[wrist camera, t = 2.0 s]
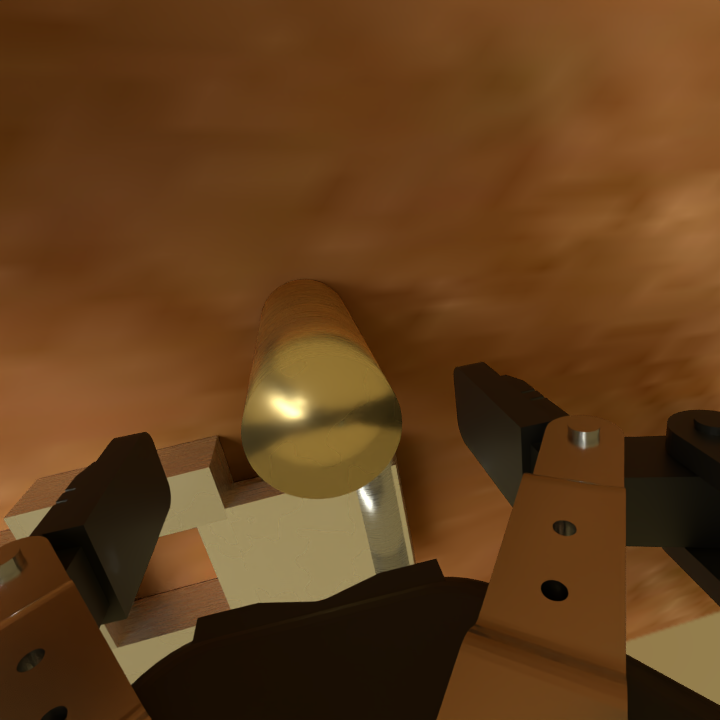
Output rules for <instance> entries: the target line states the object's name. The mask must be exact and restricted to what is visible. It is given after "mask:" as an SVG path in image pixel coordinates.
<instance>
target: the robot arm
mask: <svg viewBox="0 0 720 720" xmlns="http://www.w3.org/2000/svg"><path fill="white" fill-rule="evenodd" d="M454 387H455V398H456V408H457V419H458V425H459V430H460V433H461V436H462V438H463V440H464V442H465V444H466V445H467V446H468V448H469V449H470V450H471V452H472V453H473V454H474V456H475V457H476V458H477V460H478V461H479V463H480V464H481V465H482V467H483V468H484V469H485V471H486V472H487V473H488V475H489V476H490V477H491V479H492V480H493V481H494V483H495V484H496V485H497V487H498V488H499V490H500V491H501V492H502V494H503V495H504V496H505V498H506V499H507V500H508V502H509V503H510V504H511V506H512V507H513V509H512V512H511V515H510V518H509V521H508V525H507V528H506V531H505V534H504V537H503V541H502V544H501V547H500V550H499V553H498V557H497V560H496V563H495V566H494V569H493V573H492V576H491V579H490V582H489V583H487V582H483V581H479V580H474V579H469V578H460V577H444V576H443V574H442V571H441V569H440V566H439V564H438V562H437V559H433V560H429V561H425V562H421V563H417V564H413V565H409V566H405V567H401V568H397V569H393V570H389V571H385V572H381V573H378V574H376V575H374V576H372V577H370V578H368V579H366V580H364V581H362V582H360V583H357V584H355V585H353V586H351V587H349V588H347V589H345V590H343V591H341V592H339V593H337V594H335V595H333V596H331V597H329V598H326V599H324V600H320V601H310V602H269V603H255V604H251V605H247V606H243V607H239V608H235V609H231V610H227V611H223V612H219V613H215V614H211V615H207V616H203V617H199V618H197V623H196V627H195V632H194V636H193V641H191V642H189V643H187V644H185V645H183V646H181V647H180V648H178V649H176V650H175V651H173V652H171V653H170V654H168V655H167V656H165V657H164V658H163V659H161V660H160V661H158V662H157V663H155V664H154V665H153V666H152V667H151V668H149V669H148V670H147V671H146V672H145V673H143V674H142V675H141V676H140V677H139V678H138V679H137V680H136V681H135V682H134V683H132V684H130V682H129V680H128V679H127V677H126V675H125V673H124V671H123V670H122V668H121V666H120V664H119V663H118V661H117V659H116V657H115V655H114V654H113V652H112V650H111V648H110V647H109V645H108V643H107V641H106V639H105V638H104V636H103V634H102V632H101V630H100V629H99V628H100V626H101V625H103V624H108V623H112V622H116V621H120V620H124V619H127V618H128V615H129V612H130V610H131V607H132V605H133V602H134V600H135V597H136V594H137V592H138V589H139V587H140V584H141V582H142V579H143V576H144V574H145V571H146V569H147V566H148V563H149V561H150V558H151V556H152V553H153V551H154V548H155V545H156V543H157V540H158V538H159V535H160V532H161V530H162V527H163V525H164V522H165V520H166V517H167V514H168V512H169V509H170V505H171V492H170V486H169V483H168V480H167V477H166V475H165V472H164V469H163V467H162V464H161V461H160V458H159V456H158V453H157V450H156V448H155V445H154V442H153V440H152V438H151V436H150V435H149V434H148V433H147V432H142V433H137V434H133V435H128V436H123V437H118V438H114V439H113V440H112V441H111V442H110V443H109V445H108V446H107V447H106V449H105V450H104V451H103V453H102V454H101V455H100V457H99V458H98V460H97V461H96V462H94V463H92V464H91V465H90V466H88V467H87V468H86V469H84V470H83V471H82V472H80V473H79V474H78V475H77V476H76V477H75V478H74V479H73V480H72V482H71V483H70V484H69V486H68V487H67V488H66V489H65V493H62V495H61V496H60V497H59V498H58V500H57V501H56V505H53V506H52V507H51V509H50V510H49V511H48V513H47V514H46V515H45V516H44V518H43V519H42V520H41V522H40V523H39V524H38V525H37V527H36V528H35V529H34V530H33V532H32V533H31V534H30V536H29V537H25V538H21V539H18V540H15V541H12V542H10V543H7V544H5V545H3V546H1V547H0V720H720V705H718V704H716V703H715V702H713V701H711V700H709V699H707V698H705V697H704V696H702V695H700V694H698V693H696V692H694V691H693V690H691V689H689V688H687V687H685V686H684V685H681V684H680V683H678V682H676V681H674V680H673V679H671V678H669V677H667V676H665V675H663V674H662V673H659V672H658V671H656V670H654V669H652V668H651V667H649V666H647V665H645V664H643V663H641V662H640V661H638V660H636V659H634V658H632V657H631V656H629V655H627V654H626V546H643V547H662V548H663V549H664V551H665V552H666V553H667V554H668V555H669V556H670V557H671V558H672V559H673V560H674V561H675V562H676V563H677V564H678V565H679V566H680V567H681V568H682V569H683V570H684V571H685V572H686V573H687V574H688V575H689V576H690V577H691V578H692V579H693V580H694V581H695V582H696V583H697V584H698V585H699V586H700V587H701V588H702V589H703V590H704V591H705V592H706V593H707V594H708V595H709V596H710V597H711V598H712V599H713V600H714V601H715V602H716V603H717V604H718V605H719V606H720V412H718V411H710V410H688V411H682V412H678V413H676V414H674V415H672V416H670V418H669V419H668V421H667V431H666V436H646V437H624V433H623V431H622V430H621V429H620V427H618V426H617V425H616V424H614V423H612V422H610V421H608V420H605V419H602V418H599V417H594V416H587V415H571V416H570V415H568V414H567V413H566V412H564V411H563V410H562V409H560V408H559V407H558V406H556V405H555V404H554V403H552V402H551V401H550V400H548V399H547V398H544V396H543V395H542V394H540V393H539V392H538V391H535V390H534V388H532V387H531V386H530V385H528V384H527V383H526V382H524V381H523V380H520V379H517V378H514V377H511V376H508V375H503V376H500V375H499V374H498V373H496V372H495V371H494V370H493V369H492V368H490V367H489V366H488V365H487V364H485V363H484V362H479V363H474V364H470V365H465V366H460V367H456V368H455V369H454Z"/></svg>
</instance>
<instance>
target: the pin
mask: <svg viewBox="0 0 720 720" xmlns="http://www.w3.org/2000/svg"><path fill="white" fill-rule="evenodd" d="M401 432H402V416H401V410H400V406H399V403H398V401H397V398H396V396H395V394H394V392H393V390H392V389H391V387H390V385H389V383H388V381H387V380H386V378H385V376H384V374H383V372H382V371H381V369H380V367H379V365H378V363H377V362H376V360H375V358H374V356H373V355H372V353H371V351H370V349H369V347H368V346H367V344H366V342H365V340H364V338H363V337H362V335H361V333H360V331H359V329H358V328H357V326H356V324H355V322H354V321H353V319H352V317H351V315H350V313H349V312H348V310H347V308H346V306H345V304H344V303H343V301H342V299H341V298H340V296H339V295H338V294H337V293H336V292H335V291H334V290H333V289H332V288H330V287H329V286H327V285H325V284H324V283H321V282H318V281H315V280H309V279H300V280H294V281H290V282H288V283H285V284H283V285H282V286H280V287H278V288H277V289H276V290H275V291H274V292H273V293H272V294H271V295H270V296H269V297H268V299H267V300H266V302H265V304H264V307H263V309H262V313H261V319H260V324H259V330H258V335H257V341H256V347H255V352H254V358H253V363H252V369H251V375H250V380H249V386H248V391H247V397H246V403H245V408H244V414H243V420H242V428H241V436H242V444H243V448H244V452H245V454H246V457H247V459H248V461H249V463H250V465H251V466H252V468H253V469H254V470H255V472H256V473H257V474H258V475H259V476H260V477H261V478H262V479H263V480H264V481H265V482H266V483H268V484H269V485H271V486H272V487H274V488H275V489H277V490H279V491H281V492H283V493H286V494H289V495H292V496H296V497H300V498H307V499H327V498H334V497H339V496H342V495H345V494H349V493H351V492H353V491H356V490H358V489H360V488H361V487H363V486H365V485H367V484H368V483H369V482H371V481H372V480H373V479H375V478H376V477H377V476H378V475H379V474H380V473H381V472H382V471H383V470H384V469H385V468H386V466H387V465H388V464H389V462H390V461H391V459H392V458H393V456H394V454H395V452H396V450H397V447H398V444H399V441H400V437H401Z"/></svg>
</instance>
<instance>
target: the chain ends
mask: <svg viewBox="0 0 720 720" xmlns="http://www.w3.org/2000/svg"><path fill="white" fill-rule="evenodd" d="M157 453H158V456H159V458H160V461H161V464H162V467H163V469H164V472H165V475H166V477H167V480H168V483H169V486H170V492H171V505H170V509H169V512H168V514H167V517H166V520H165V522H164V525H163V527H162V530H161V532H160V535H159V537H161V536H165V535H168V534H172V533H176V532H180V531H184V530H188V529H191V528H195V527H197V528H198V531H199V533H200V536H201V538H202V541H203V543H204V545H205V548H206V550H207V553H208V555H209V558H210V560H211V562H212V565H213V567H214V570H215V572H216V575H217V577H218V578H217V579H213V580H210V581H206V582H202V583H199V584H195V585H191V586H187V587H184V588H180V589H176V590H173V591H169V592H165V593H162V594H158V595H154V596H150V597H147V598H143V599H139V600H136V601H134V602H133V605H132V607H131V610H130V612H129V615H128V618H127V619H124V620H120V621H116V622H112V623H108V624H103V625H101V626H100V628H99V629H100V630H101V632H102V634H103V636H104V638H105V639H106V641H107V643H108V645H109V647H110V648H111V650H112V652H113V654H114V655H115V657H116V659H117V661H118V663H119V664H120V666H121V668H122V670H123V671H124V673H125V675H126V677H127V679H128V680H129V682H130V684H132V683H134V682H135V681H136V680H137V679H138V678H139V677H140V676H141V675H142V674H143V673H145V672H146V671H147V670H148V669H149V668H151V667H152V666H153V665H154V664H155V663H157V662H158V661H160V660H161V659H163V658H164V657H165V656H167V655H168V654H170V653H171V652H173V651H175V650H176V649H178V648H180V647H181V646H183V645H185V644H187V643H189V642H191V641H193V636H194V632H195V627H196V623H197V618H199V617H203V616H207V615H211V614H215V613H219V612H223V611H227V610H231V609H235V608H239V607H243V606H247V605H251V604H255V603H269V602H310V601H319V600H323V599H326V598H329V597H331V596H333V595H335V594H337V593H339V592H341V591H343V590H345V589H347V588H349V587H351V586H353V585H355V584H357V583H360V582H362V581H364V580H366V579H368V578H370V577H372V576H374V575H376V574H378V573H381V572H385V571H389V570H393V569H397V568H401V567H405V566H409V565H413V564H416V560H415V554H414V549H413V544H412V538H411V533H410V527H409V522H408V517H407V511H406V506H405V500H404V495H403V490H402V484H401V479H400V473H399V468H398V463H397V457H396V452H395V454H394V456H393V458H392V459H391V461H390V462H389V464H388V465H387V466H386V468H385V469H384V470H383V471H382V472H381V473H380V474H379V475H378V476H377V477H376V478H375V479H373V480H372V481H371V482H369V483H368V484H367V485H365V486H363V487H361V488H360V489H358V490H356V491H353V492H351V493H349V494H345V495H342V496H339V497H334V498H327V499H307V498H300V497H296V496H292V495H289V494H286V493H283V492H281V491H279V490H277V489H275V488H274V487H272V486H271V485H269V484H268V483H266V482H265V481H263V479H262V478H261V477H256V478H252V479H248V480H244V481H240V482H236V483H234V481H233V478H232V475H231V472H230V469H229V467H228V464H227V461H226V458H225V455H224V452H223V450H222V447H221V444H220V441H219V438H218V436H214V437H210V438H206V439H202V440H197V441H193V442H189V443H185V444H181V445H177V446H173V447H169V448H165V449H161V450H157ZM84 469H86V468H83V469H79V470H75V471H71V472H66V473H62V474H58V475H54V476H50V477H46V478H42V479H38V480H36V481H35V482H34V484H33V485H32V486H31V487H30V488H29V489H28V491H27V492H26V493H25V494H24V495H23V496H22V498H21V499H20V500H19V501H18V502H17V503H16V505H15V506H14V507H13V508H12V509H11V510H10V512H9V513H8V514H7V515H6V516H5V517H4V520H5V522H6V524H7V525H8V527H9V528H10V530H6V531H2V532H0V547H1V546H3V545H5V544H7V543H10V542H12V541H15V540H18V539H21V538H25V537H29V536H30V534H31V533H32V532H33V530H34V529H35V528H36V527H37V525H38V524H39V523H40V522H41V520H42V519H43V518H44V516H45V515H46V514H47V513H48V511H49V510H50V509H51V507H52V506H53V505H56V501H57V500H58V498H59V497H60V496H61V495H62V493H65V489H66V488H67V487H68V486H69V484H70V483H71V482H72V480H73V479H74V478H75V477H76V476H77V475H78V474H79V473H80V472H82V471H83V470H84Z"/></svg>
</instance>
